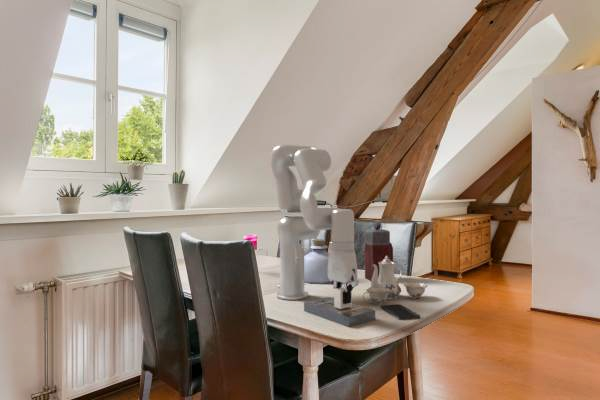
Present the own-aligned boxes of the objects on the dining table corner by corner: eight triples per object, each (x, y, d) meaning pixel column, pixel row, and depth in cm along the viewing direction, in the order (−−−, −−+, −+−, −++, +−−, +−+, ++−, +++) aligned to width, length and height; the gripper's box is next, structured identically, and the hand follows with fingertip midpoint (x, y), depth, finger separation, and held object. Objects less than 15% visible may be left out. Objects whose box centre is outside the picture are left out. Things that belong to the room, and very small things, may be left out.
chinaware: (377, 313, 146) (380, 267, 144) (348, 298, 160) (351, 256, 158) (432, 302, 160) (436, 260, 158) (401, 289, 174) (404, 250, 172)
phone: (399, 304, 149) (421, 315, 134) (399, 307, 149) (421, 319, 134) (379, 305, 147) (399, 317, 132) (379, 308, 147) (399, 321, 132)
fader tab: (334, 307, 136) (334, 288, 136) (345, 304, 139) (345, 286, 139) (340, 309, 134) (340, 290, 133) (351, 306, 137) (351, 288, 136)
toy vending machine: (394, 280, 192) (394, 220, 191) (372, 282, 189) (372, 220, 189) (386, 276, 200) (386, 219, 200) (364, 278, 198) (364, 219, 197)
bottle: (341, 276, 204) (341, 237, 203) (338, 284, 184) (338, 242, 184) (302, 274, 207) (301, 237, 207) (294, 283, 188) (294, 242, 187)
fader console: (304, 311, 143) (304, 302, 143) (330, 305, 150) (329, 296, 150) (348, 327, 126) (348, 317, 126) (375, 319, 133) (375, 310, 133)
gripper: (318, 245, 140) (318, 299, 140) (352, 250, 127) (352, 309, 127) (334, 243, 145) (334, 295, 145) (369, 248, 132) (369, 305, 132)
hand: (342, 301), depth 136 cm, fingers closed on fader tab, 3 cm apart
